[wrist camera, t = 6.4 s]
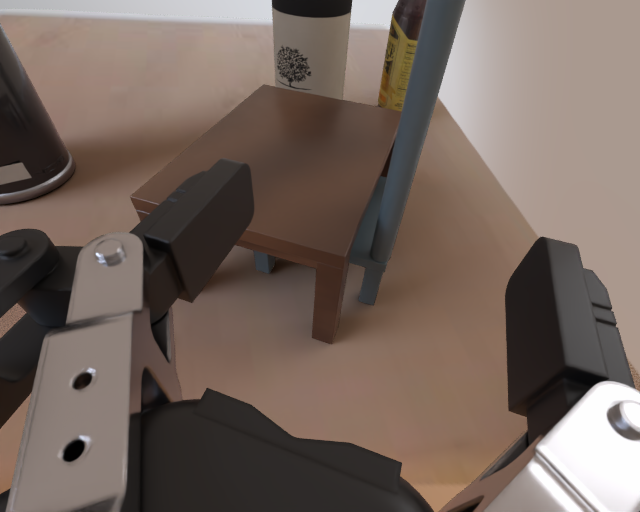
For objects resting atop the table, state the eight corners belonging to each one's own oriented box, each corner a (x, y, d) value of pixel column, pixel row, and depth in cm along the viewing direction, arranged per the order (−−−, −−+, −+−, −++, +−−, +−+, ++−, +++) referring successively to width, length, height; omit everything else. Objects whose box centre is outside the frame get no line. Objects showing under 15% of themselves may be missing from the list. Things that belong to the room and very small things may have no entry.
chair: (254, 270, 28) (205, -91, 13) (298, 199, 35) (301, -97, 20) (375, 307, 26) (484, -64, 11) (398, 225, 33) (487, -80, 18)
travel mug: (310, 110, 49) (315, -64, 36) (352, 132, 45) (375, -53, 32) (264, 127, 45) (251, -61, 32) (306, 153, 41) (311, -48, 28)
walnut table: (170, 291, 27) (129, 196, 20) (268, 169, 39) (263, 84, 32) (332, 344, 24) (345, 256, 18) (384, 197, 36) (404, 111, 30)
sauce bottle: (381, 102, 52) (415, -85, 37) (423, 111, 50) (475, -79, 36) (370, 121, 48) (402, -82, 33) (415, 131, 46) (470, -75, 32)
